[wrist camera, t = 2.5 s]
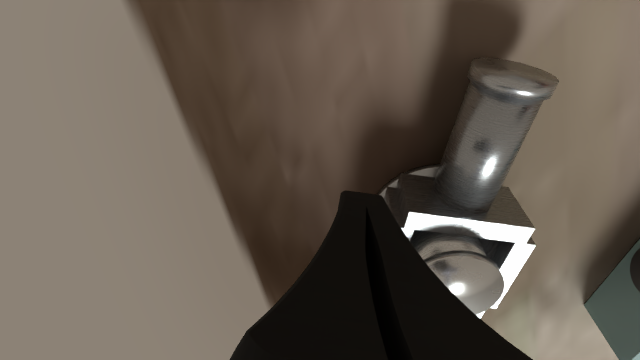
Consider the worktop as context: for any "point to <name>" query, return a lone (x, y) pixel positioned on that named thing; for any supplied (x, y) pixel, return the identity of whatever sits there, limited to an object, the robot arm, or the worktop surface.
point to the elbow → (480, 167)
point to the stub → (457, 259)
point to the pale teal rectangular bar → (620, 307)
